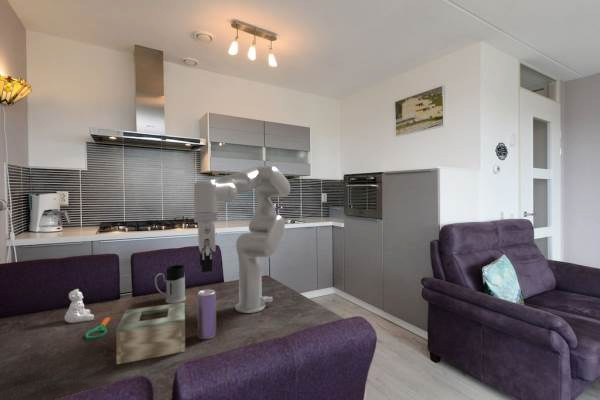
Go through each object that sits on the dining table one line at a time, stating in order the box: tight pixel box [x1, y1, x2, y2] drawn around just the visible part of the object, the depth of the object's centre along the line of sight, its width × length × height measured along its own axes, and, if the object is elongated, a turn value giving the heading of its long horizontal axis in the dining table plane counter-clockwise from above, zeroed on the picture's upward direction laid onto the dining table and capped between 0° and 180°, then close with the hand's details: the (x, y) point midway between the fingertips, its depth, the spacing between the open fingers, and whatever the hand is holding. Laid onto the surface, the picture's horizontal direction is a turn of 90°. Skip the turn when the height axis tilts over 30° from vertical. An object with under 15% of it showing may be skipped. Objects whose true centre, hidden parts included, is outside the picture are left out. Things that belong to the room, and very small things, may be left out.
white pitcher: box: [154, 264, 187, 304], centre depth 131 cm, size 9×14×15 cm, turn 148°
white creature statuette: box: [64, 288, 95, 324], centre depth 112 cm, size 10×9×12 cm
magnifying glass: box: [85, 317, 111, 340], centre depth 104 cm, size 15×6×2 cm, turn 18°
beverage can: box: [197, 289, 217, 340], centre depth 99 cm, size 6×6×15 cm
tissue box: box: [115, 301, 186, 365], centre depth 92 cm, size 18×15×10 cm
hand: (205, 268), depth 98 cm, fingers open, 9 cm apart
